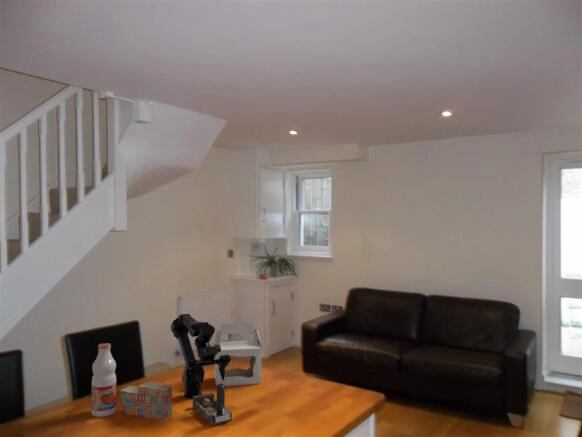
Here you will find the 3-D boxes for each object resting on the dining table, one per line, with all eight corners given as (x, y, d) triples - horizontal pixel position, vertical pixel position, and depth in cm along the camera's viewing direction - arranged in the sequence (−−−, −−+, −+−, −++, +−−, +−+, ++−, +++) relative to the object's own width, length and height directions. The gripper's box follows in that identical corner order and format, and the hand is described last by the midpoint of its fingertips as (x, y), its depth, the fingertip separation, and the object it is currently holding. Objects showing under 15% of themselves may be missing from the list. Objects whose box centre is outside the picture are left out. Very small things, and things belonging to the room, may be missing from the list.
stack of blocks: (119, 413, 193) (119, 383, 193) (129, 407, 199) (130, 378, 199) (163, 421, 185) (163, 390, 185) (172, 415, 191) (172, 384, 191)
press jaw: (210, 417, 185) (211, 384, 185) (225, 414, 188) (225, 382, 188) (215, 422, 180) (216, 388, 181) (230, 419, 184) (230, 385, 184)
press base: (192, 407, 199) (192, 396, 199) (212, 403, 204) (212, 392, 204) (210, 425, 181) (210, 413, 181) (231, 420, 186) (231, 409, 186)
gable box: (257, 375, 242) (258, 320, 242) (261, 383, 229) (262, 326, 229) (214, 377, 237) (214, 322, 237) (215, 386, 224) (216, 328, 224)
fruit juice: (102, 406, 199) (102, 340, 199) (120, 409, 196) (121, 342, 196) (86, 415, 190) (86, 346, 190) (105, 418, 187) (106, 348, 187)
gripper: (187, 340, 191) (196, 375, 181) (229, 335, 201) (240, 368, 191) (180, 355, 198) (189, 389, 188) (222, 349, 207) (232, 381, 198)
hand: (213, 382), depth 191 cm, fingers open, 9 cm apart
